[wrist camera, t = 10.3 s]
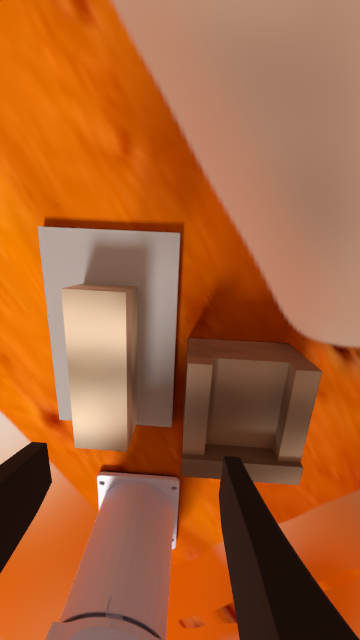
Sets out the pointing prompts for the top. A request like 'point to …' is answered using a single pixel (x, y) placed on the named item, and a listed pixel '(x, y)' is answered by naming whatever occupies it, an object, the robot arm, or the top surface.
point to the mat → (124, 270)
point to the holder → (247, 408)
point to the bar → (102, 363)
